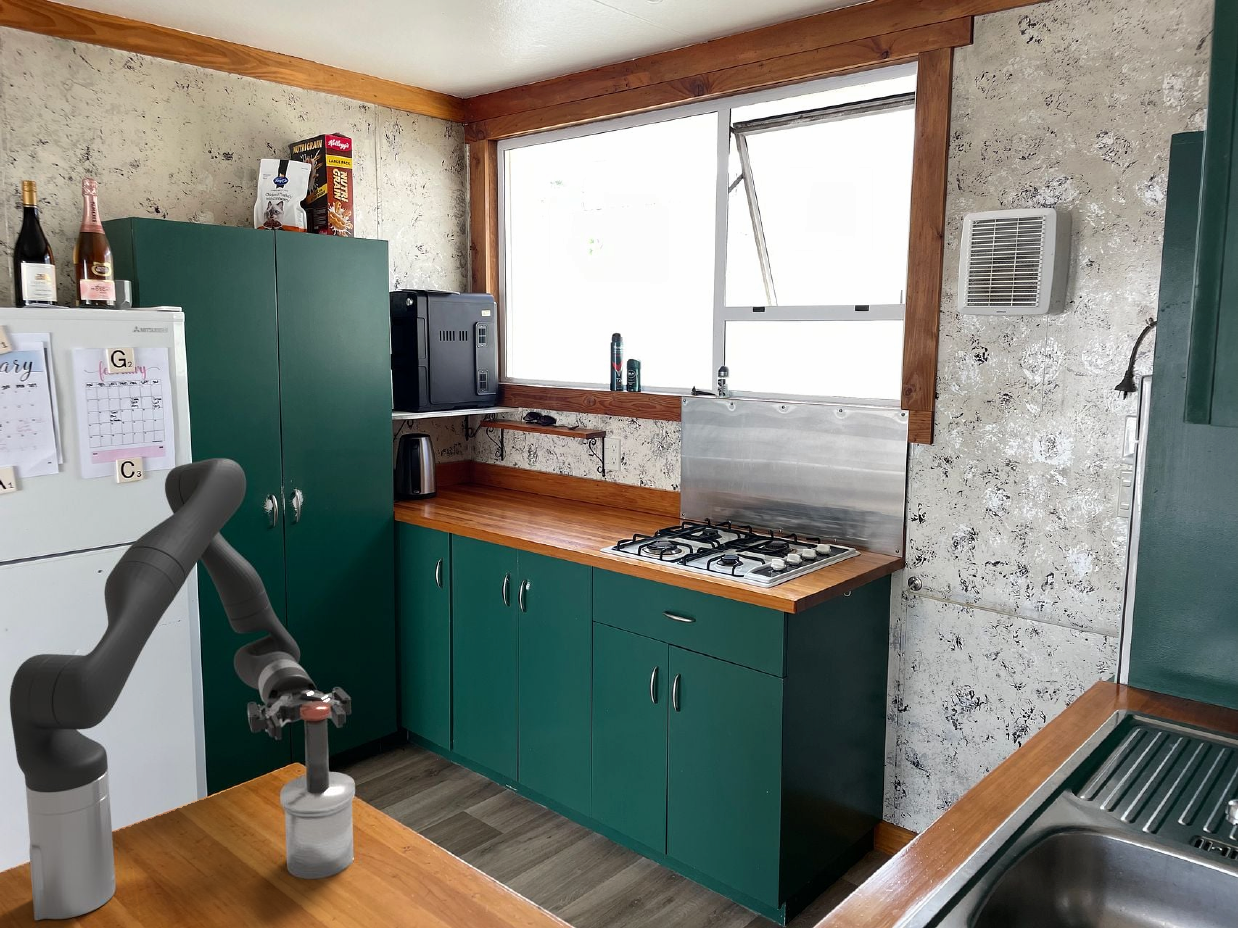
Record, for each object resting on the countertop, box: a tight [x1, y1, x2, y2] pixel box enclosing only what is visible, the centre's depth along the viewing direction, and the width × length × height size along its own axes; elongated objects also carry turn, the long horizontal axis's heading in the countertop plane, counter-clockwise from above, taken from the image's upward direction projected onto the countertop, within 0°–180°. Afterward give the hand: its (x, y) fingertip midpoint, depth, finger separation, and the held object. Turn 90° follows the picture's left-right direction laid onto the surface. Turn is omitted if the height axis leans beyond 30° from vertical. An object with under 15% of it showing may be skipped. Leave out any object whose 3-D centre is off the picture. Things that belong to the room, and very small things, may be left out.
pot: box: [283, 798, 354, 880], centre depth 132 cm, size 9×9×10 cm
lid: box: [279, 701, 356, 814], centre depth 130 cm, size 10×10×13 cm
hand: (310, 726), depth 133 cm, fingers open, 8 cm apart
